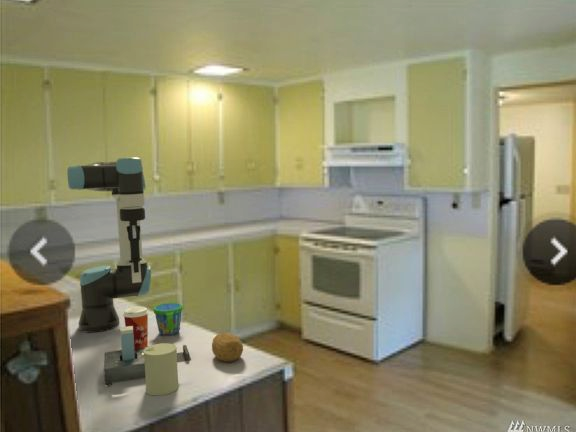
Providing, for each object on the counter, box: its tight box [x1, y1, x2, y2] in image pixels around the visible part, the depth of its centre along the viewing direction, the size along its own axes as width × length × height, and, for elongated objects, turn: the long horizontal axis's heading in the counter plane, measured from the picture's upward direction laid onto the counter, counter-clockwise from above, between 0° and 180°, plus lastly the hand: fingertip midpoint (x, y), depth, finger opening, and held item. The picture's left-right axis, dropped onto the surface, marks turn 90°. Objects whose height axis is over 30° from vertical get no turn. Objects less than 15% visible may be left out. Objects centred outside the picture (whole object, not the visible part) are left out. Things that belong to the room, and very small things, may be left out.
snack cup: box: [153, 302, 184, 337], centre depth 191 cm, size 16×10×10 cm
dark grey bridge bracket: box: [177, 344, 192, 363], centre depth 165 cm, size 8×8×3 cm
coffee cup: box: [122, 306, 149, 348], centre depth 171 cm, size 8×8×15 cm
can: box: [143, 342, 180, 396], centre depth 144 cm, size 9×9×12 cm
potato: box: [211, 332, 244, 363], centre depth 163 cm, size 10×14×8 cm
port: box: [103, 345, 150, 387], centre depth 155 cm, size 14×14×5 cm
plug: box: [119, 326, 135, 361], centre depth 155 cm, size 4×4×14 cm
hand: (136, 281), depth 161 cm, fingers closed
